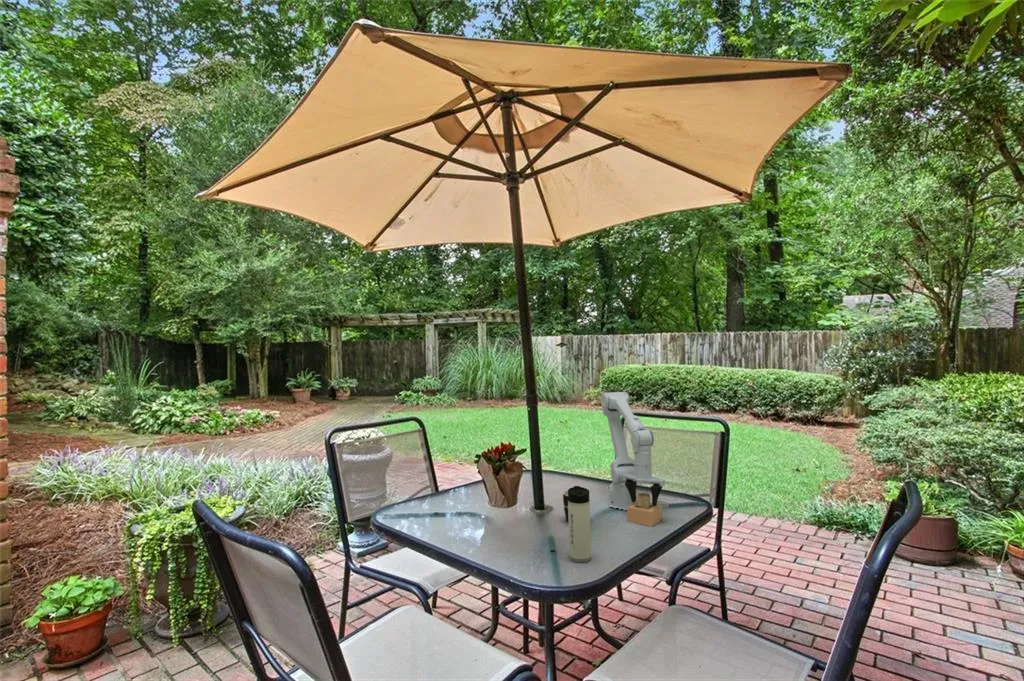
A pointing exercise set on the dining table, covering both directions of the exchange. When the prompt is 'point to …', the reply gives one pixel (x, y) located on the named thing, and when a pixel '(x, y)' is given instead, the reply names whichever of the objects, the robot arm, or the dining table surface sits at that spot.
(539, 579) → the dining table surface
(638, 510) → the socket block
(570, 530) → the travel mug
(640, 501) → the peg
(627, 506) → the robot arm
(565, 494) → the mug
